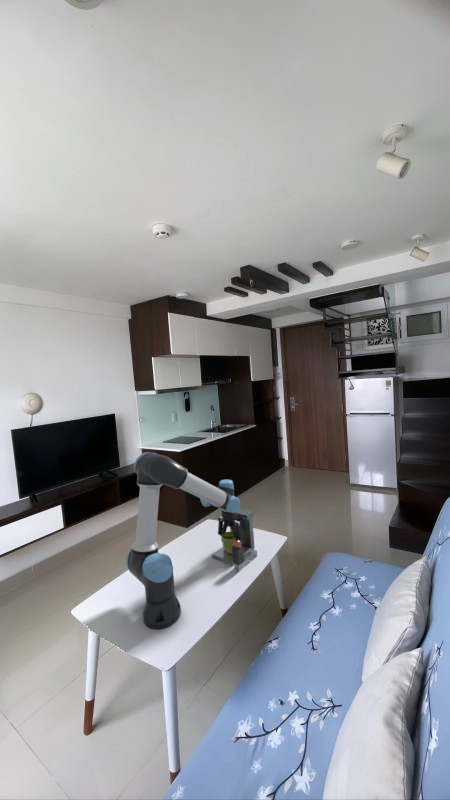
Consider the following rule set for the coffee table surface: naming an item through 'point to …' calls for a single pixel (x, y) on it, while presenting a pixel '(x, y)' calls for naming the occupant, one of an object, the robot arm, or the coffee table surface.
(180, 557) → the coffee table surface
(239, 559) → the lever
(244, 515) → the frame
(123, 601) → the coffee table surface
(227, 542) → the plant pot
